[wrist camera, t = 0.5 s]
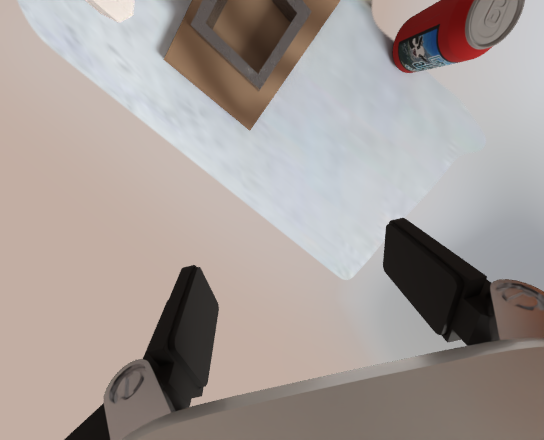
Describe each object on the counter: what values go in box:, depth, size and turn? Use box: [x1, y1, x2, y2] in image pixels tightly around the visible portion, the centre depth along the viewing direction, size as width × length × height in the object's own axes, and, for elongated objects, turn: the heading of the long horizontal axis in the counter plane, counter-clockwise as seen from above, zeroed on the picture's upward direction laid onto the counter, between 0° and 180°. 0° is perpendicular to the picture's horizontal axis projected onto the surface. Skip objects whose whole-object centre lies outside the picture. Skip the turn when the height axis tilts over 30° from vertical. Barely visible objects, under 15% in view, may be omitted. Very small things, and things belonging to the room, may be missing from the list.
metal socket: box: [191, 0, 312, 91], centre depth 25 cm, size 10×10×4 cm
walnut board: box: [164, 0, 340, 130], centre depth 27 cm, size 20×14×2 cm
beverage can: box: [393, 0, 525, 73], centre depth 25 cm, size 7×7×12 cm
